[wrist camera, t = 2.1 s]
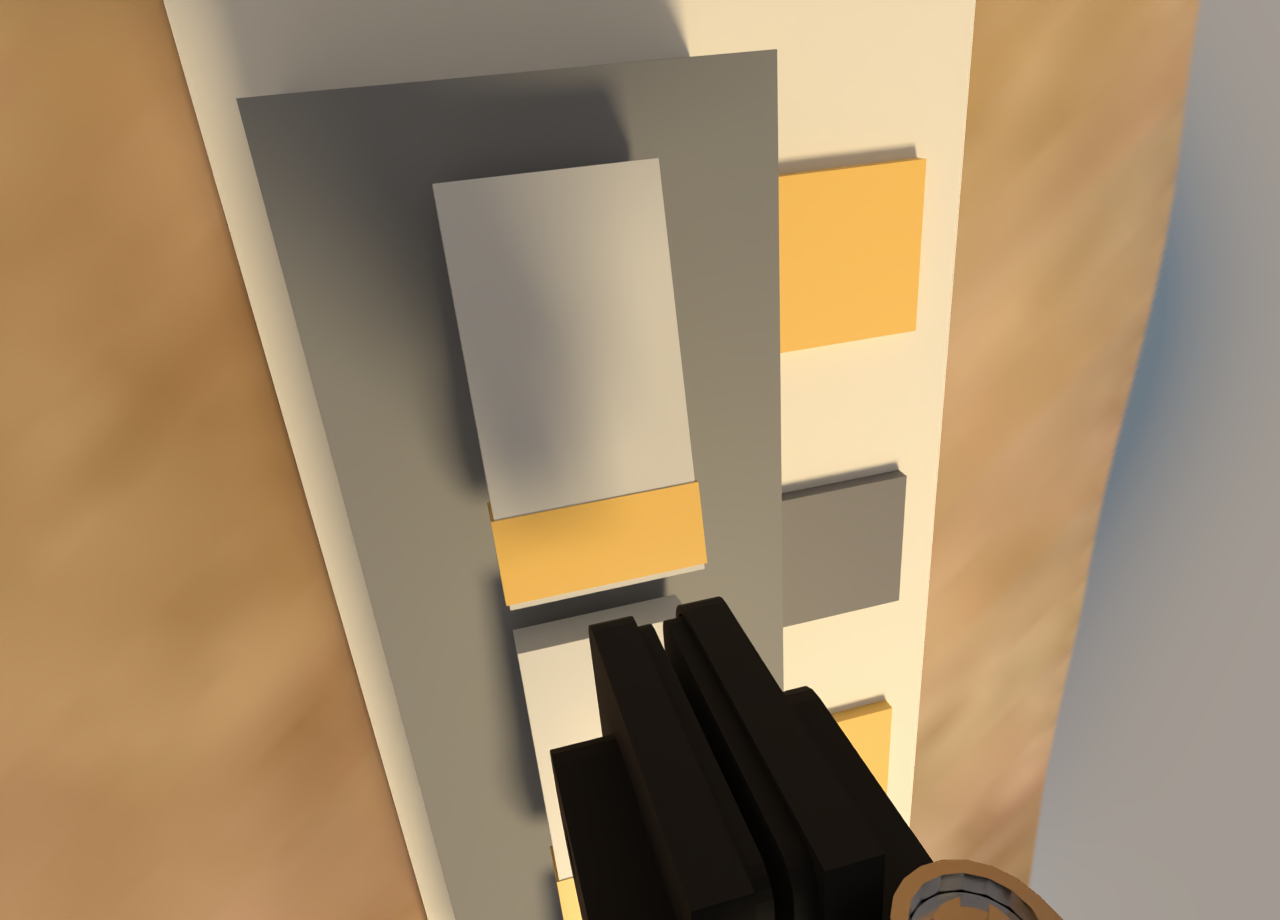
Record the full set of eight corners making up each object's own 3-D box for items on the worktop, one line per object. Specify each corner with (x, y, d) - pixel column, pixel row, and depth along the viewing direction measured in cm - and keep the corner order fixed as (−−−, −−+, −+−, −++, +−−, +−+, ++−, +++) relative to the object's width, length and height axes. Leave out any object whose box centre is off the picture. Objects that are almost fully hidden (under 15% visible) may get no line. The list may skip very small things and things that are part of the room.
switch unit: (161, -50, 15) (45, -114, 10) (955, -97, 18) (1158, -162, 13) (456, 992, 28) (467, 1184, 23) (890, 862, 31) (981, 1007, 26)
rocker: (429, 189, 12) (428, 183, 11) (645, 164, 13) (662, 157, 12) (502, 586, 14) (507, 612, 13) (689, 547, 15) (707, 568, 14)
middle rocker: (509, 630, 16) (514, 655, 15) (677, 593, 16) (692, 615, 15) (560, 905, 17) (568, 944, 16) (710, 862, 18) (726, 897, 17)
